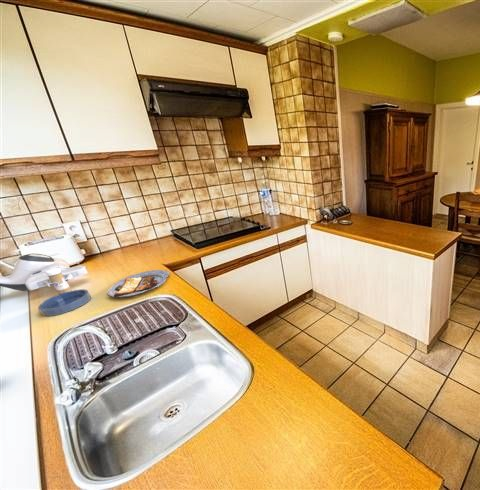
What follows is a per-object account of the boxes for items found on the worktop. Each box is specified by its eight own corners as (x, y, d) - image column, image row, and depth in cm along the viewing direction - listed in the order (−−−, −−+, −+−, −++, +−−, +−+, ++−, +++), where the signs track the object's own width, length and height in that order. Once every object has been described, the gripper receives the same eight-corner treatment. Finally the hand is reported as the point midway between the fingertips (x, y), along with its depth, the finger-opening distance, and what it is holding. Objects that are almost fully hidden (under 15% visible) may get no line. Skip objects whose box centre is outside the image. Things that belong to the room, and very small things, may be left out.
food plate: (161, 293, 126) (158, 287, 125) (100, 306, 119) (96, 299, 117) (174, 270, 148) (172, 264, 146) (123, 279, 140) (120, 274, 139)
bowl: (42, 321, 110) (37, 314, 109) (42, 307, 120) (38, 300, 118) (93, 303, 121) (89, 297, 119) (89, 291, 130) (86, 285, 129)
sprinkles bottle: (57, 297, 127) (42, 273, 121) (62, 292, 131) (47, 269, 125) (70, 294, 129) (56, 270, 123) (74, 290, 133) (60, 266, 127)
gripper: (88, 270, 143) (91, 278, 135) (31, 287, 129) (30, 297, 121) (83, 260, 140) (85, 267, 132) (23, 276, 127) (22, 285, 118)
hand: (58, 282), depth 126 cm, fingers closed on sprinkles bottle, 4 cm apart
